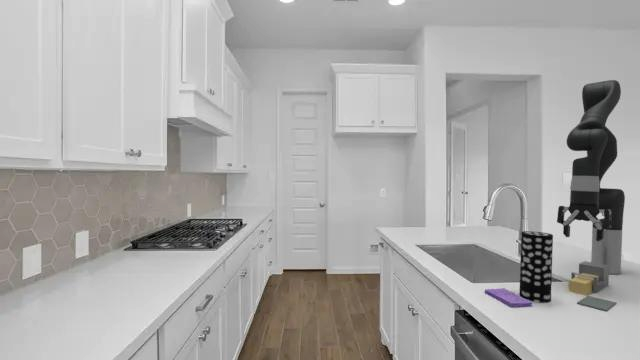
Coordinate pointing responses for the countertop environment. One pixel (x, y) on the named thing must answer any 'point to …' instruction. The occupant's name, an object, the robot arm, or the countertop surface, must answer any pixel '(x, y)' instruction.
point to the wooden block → (581, 285)
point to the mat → (597, 303)
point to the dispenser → (594, 274)
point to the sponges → (508, 298)
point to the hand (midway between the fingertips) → (582, 238)
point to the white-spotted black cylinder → (536, 266)
